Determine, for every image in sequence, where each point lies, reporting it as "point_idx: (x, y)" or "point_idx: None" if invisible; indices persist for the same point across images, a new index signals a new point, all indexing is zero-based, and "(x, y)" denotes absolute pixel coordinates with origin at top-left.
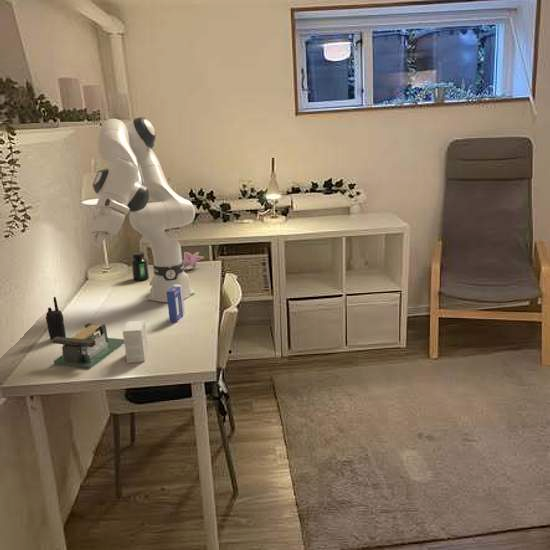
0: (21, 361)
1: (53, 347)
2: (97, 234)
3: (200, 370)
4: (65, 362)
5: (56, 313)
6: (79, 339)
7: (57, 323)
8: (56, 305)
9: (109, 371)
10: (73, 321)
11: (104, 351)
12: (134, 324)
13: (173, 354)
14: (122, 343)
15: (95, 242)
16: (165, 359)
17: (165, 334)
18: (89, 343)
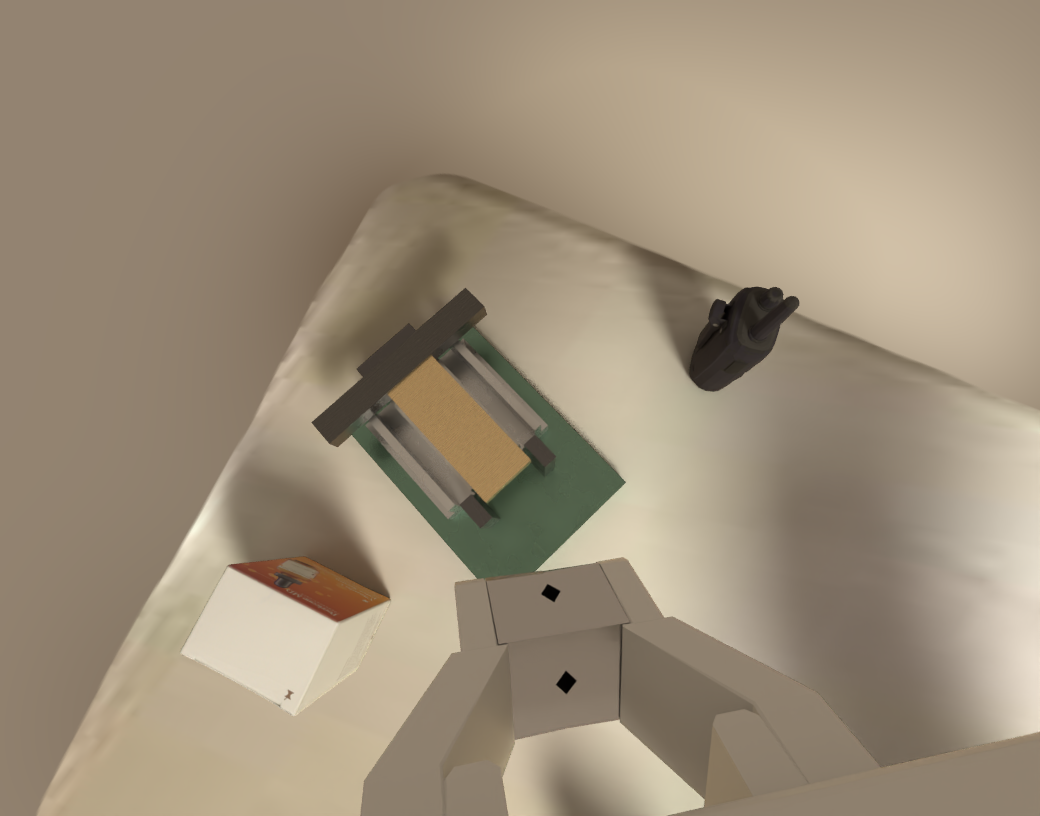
0: (558, 225)
1: (626, 335)
2: (724, 787)
3: (47, 799)
4: None
5: (731, 329)
6: (384, 386)
7: (710, 343)
8: (763, 322)
9: (277, 479)
10: (898, 452)
11: (426, 496)
12: (273, 646)
13: (255, 755)
14: None
15: (485, 613)
16: (233, 705)
17: None
18: (318, 417)
